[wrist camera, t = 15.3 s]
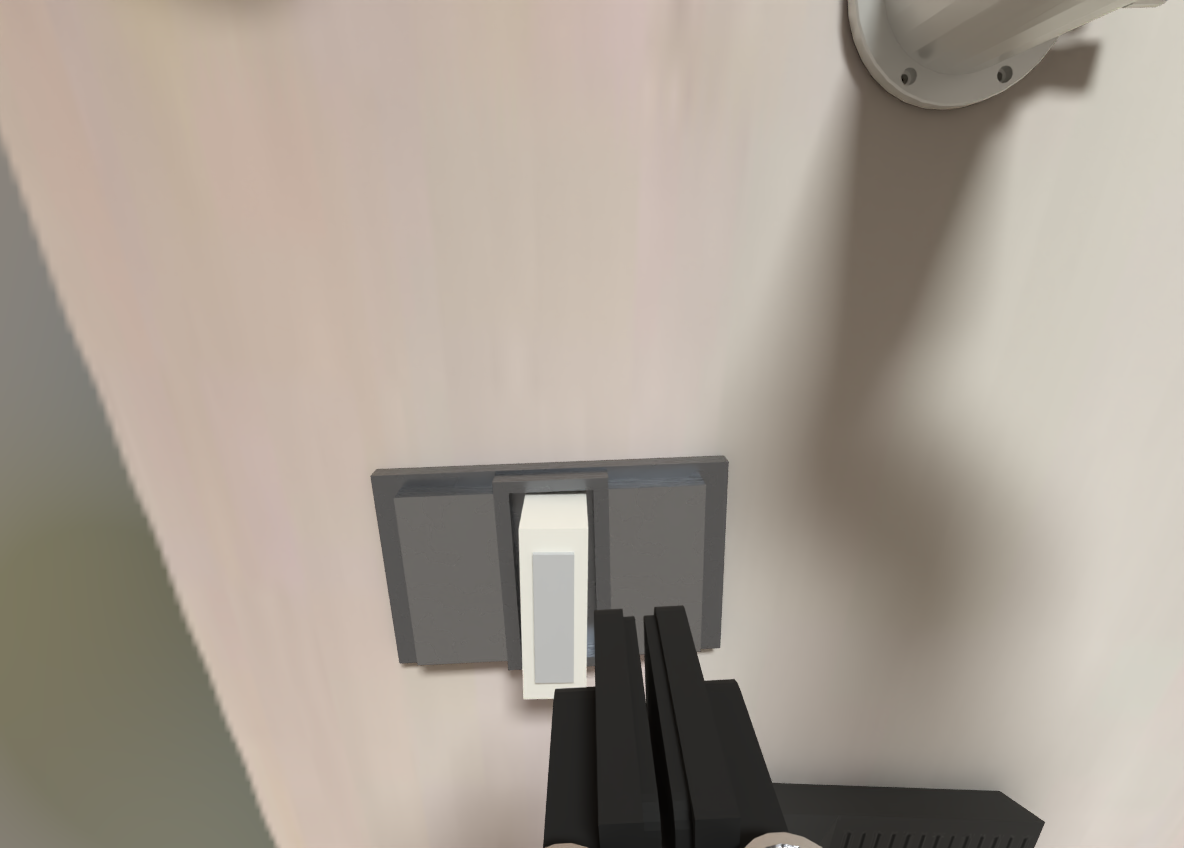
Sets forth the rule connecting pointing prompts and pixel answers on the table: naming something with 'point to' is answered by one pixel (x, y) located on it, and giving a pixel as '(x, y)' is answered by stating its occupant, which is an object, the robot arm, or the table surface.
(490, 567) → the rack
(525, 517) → the blanking panel
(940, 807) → the video game console
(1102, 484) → the table surface
